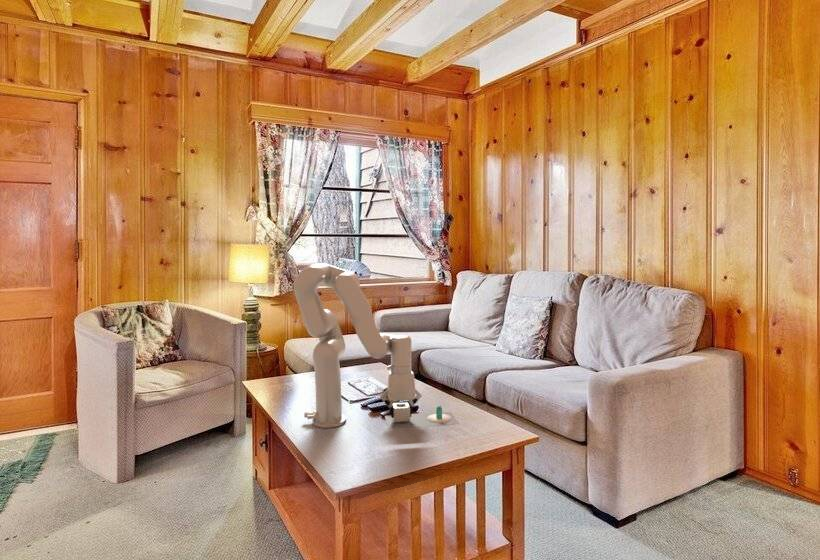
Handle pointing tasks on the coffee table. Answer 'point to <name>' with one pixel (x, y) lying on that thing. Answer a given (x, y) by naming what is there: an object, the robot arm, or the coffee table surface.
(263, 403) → the coffee table surface
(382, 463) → the coffee table surface
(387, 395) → the cup
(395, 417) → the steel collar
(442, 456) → the coffee table surface
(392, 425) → the tool board
